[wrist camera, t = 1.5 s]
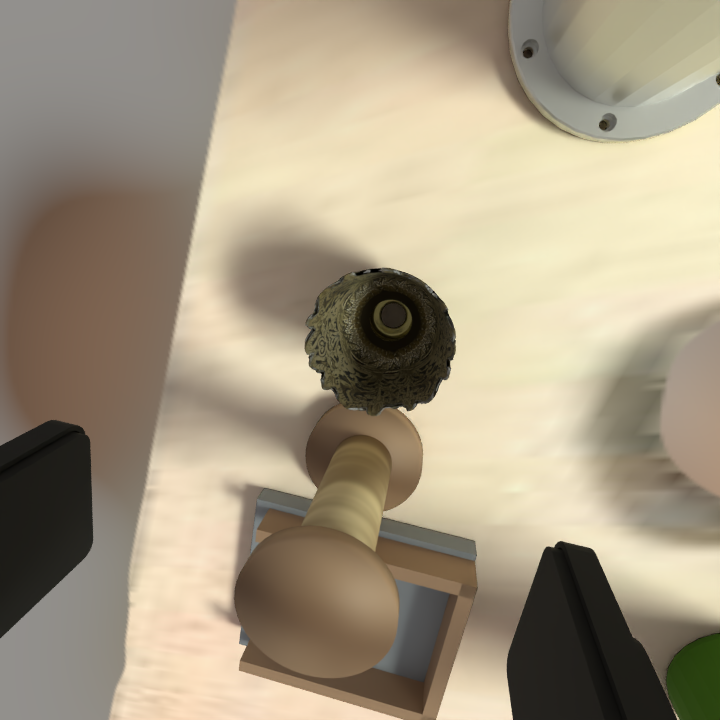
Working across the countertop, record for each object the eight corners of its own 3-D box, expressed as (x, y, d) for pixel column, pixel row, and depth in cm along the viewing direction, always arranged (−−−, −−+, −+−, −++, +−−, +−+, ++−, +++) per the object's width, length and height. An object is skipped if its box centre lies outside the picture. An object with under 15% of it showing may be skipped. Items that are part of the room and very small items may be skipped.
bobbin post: (319, 387, 33) (231, 508, 19) (434, 413, 32) (429, 560, 18) (304, 486, 35) (216, 657, 21) (409, 512, 34) (389, 708, 20)
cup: (345, 374, 32) (315, 421, 24) (328, 264, 30) (291, 279, 22) (456, 365, 31) (462, 412, 23) (447, 249, 29) (449, 259, 21)
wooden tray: (264, 487, 36) (243, 519, 32) (475, 541, 34) (479, 581, 30) (246, 628, 40) (225, 671, 36) (432, 682, 38) (431, 733, 34)
